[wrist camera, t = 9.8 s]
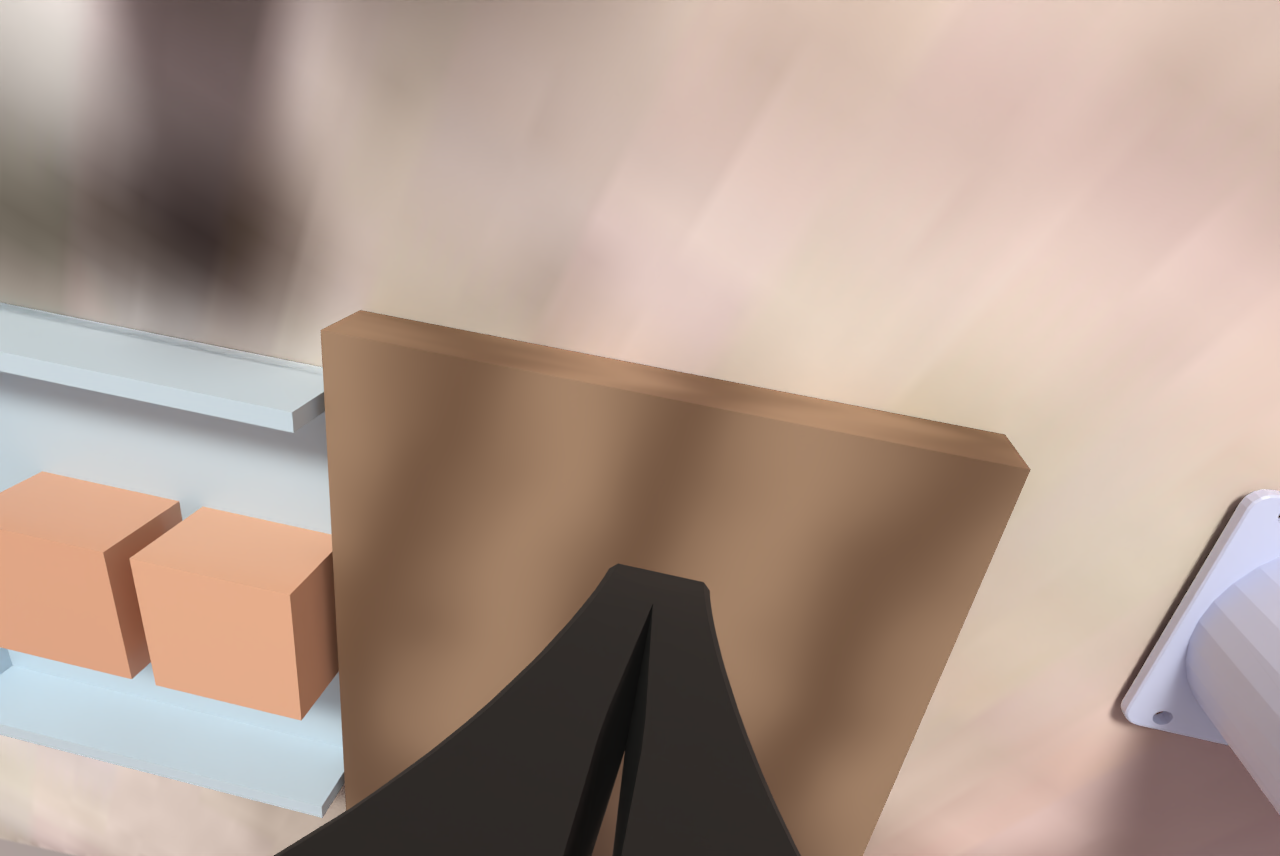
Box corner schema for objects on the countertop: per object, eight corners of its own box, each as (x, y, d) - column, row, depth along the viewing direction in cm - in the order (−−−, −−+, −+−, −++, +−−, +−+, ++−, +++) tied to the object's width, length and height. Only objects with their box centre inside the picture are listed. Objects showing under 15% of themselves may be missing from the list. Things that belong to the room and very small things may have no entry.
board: (1005, 434, 19) (1030, 469, 17) (816, 897, 27) (820, 953, 26) (360, 310, 20) (320, 330, 18) (373, 785, 29) (347, 830, 27)
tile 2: (345, 537, 23) (289, 594, 20) (351, 654, 25) (301, 720, 22) (202, 506, 23) (129, 558, 21) (220, 624, 26) (155, 685, 23)
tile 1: (179, 501, 23) (102, 552, 21) (198, 619, 26) (131, 679, 23) (42, 471, 24) (-50, 517, 21) (72, 589, 26) (-8, 645, 23)
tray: (352, 373, 21) (291, 412, 18) (365, 749, 28) (322, 817, 25) (-102, 281, 22) (-221, 305, 20) (16, 662, 29) (-60, 719, 27)
